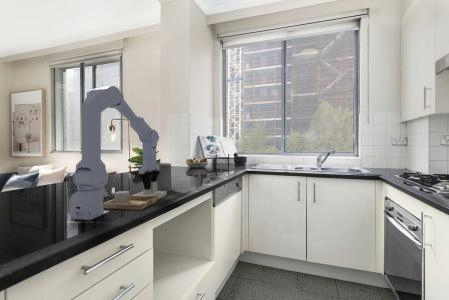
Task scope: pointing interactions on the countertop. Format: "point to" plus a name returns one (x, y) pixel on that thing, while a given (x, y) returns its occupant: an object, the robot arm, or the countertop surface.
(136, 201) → the wooden tray
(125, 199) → the stone
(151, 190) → the stone
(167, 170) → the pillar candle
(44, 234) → the countertop surface
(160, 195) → the stoneware dish
